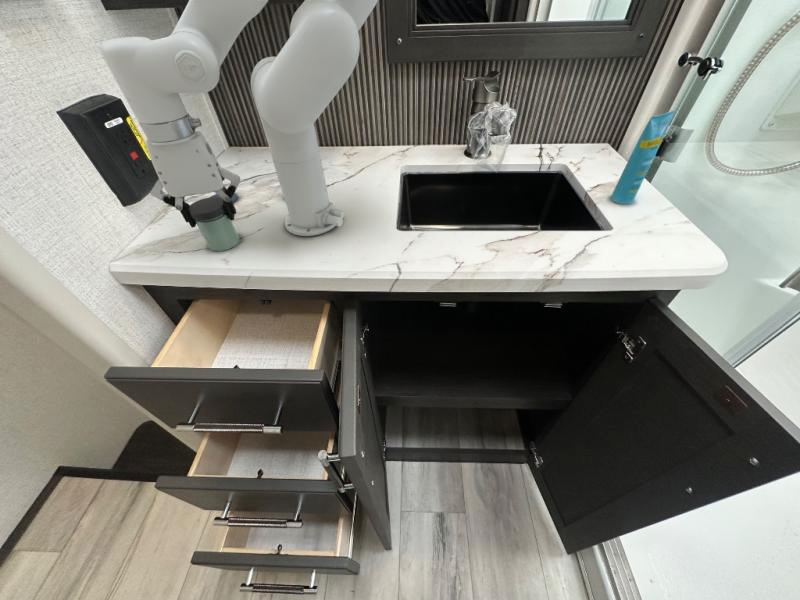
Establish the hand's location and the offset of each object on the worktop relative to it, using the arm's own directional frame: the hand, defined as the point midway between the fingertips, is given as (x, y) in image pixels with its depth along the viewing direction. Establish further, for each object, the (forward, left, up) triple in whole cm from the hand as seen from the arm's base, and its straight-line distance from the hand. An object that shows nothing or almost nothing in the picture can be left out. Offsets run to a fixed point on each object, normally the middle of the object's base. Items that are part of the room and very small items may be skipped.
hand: (213, 220), depth 69 cm
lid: (0, 0, +3) cm, 3 cm away
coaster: (+16, -14, -6) cm, 22 cm away
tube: (-77, -54, -6) cm, 94 cm away
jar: (0, 0, -6) cm, 6 cm away
